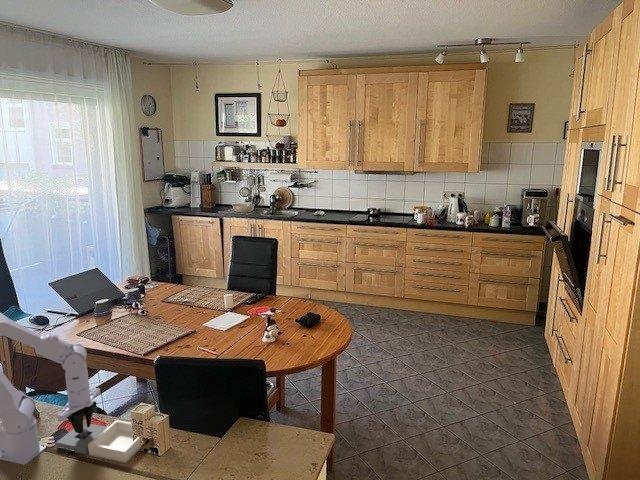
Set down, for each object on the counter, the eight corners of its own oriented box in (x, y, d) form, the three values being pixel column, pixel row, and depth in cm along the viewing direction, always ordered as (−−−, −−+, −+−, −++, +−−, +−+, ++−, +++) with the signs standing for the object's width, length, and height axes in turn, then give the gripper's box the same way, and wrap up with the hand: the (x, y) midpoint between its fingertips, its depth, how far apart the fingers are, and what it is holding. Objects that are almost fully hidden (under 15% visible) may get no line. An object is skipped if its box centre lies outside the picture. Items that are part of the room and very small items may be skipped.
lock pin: (77, 439, 136) (74, 416, 135) (83, 434, 139) (80, 412, 137) (84, 441, 136) (81, 418, 134) (90, 436, 138) (87, 413, 136)
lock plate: (56, 448, 134) (56, 442, 134) (82, 427, 143) (81, 422, 143) (86, 454, 132) (85, 448, 131) (110, 433, 141) (109, 427, 140)
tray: (89, 455, 131) (87, 444, 130) (117, 429, 143) (116, 419, 142) (125, 463, 128) (124, 452, 128) (151, 436, 140) (151, 426, 139)
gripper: (70, 403, 126) (75, 447, 129) (107, 376, 139) (111, 417, 142) (49, 399, 128) (54, 442, 130) (87, 373, 141) (91, 413, 144)
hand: (82, 429), depth 137 cm, fingers closed on lock pin, 2 cm apart
